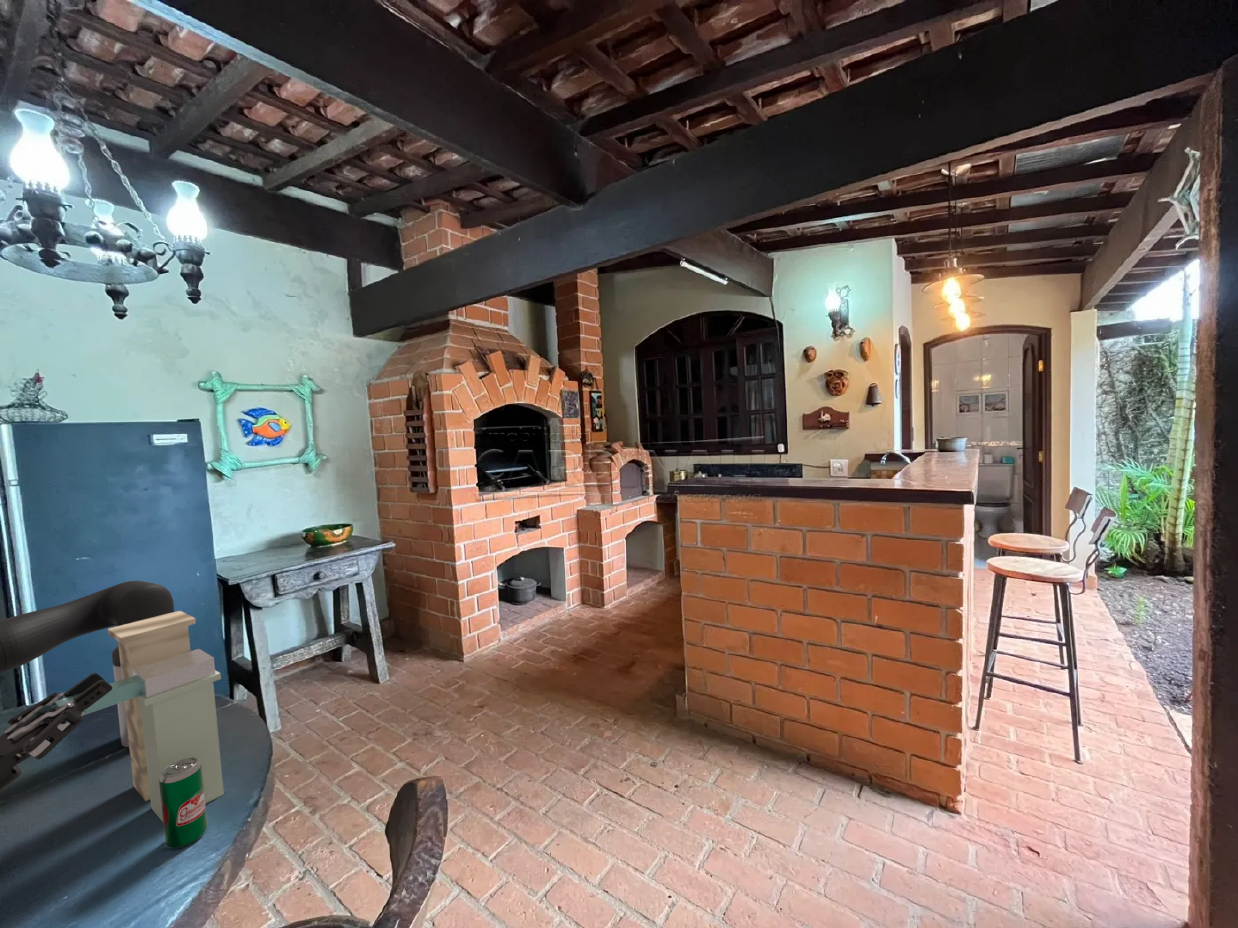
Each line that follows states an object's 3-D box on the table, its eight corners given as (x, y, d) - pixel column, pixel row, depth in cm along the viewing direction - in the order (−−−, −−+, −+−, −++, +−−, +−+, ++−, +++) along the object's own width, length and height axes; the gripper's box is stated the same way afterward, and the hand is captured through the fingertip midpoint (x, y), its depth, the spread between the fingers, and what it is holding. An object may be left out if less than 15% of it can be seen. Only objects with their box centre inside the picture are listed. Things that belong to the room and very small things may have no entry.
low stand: (142, 810, 85) (129, 686, 84) (214, 775, 94) (203, 662, 92) (158, 830, 81) (144, 700, 79) (231, 791, 89) (220, 673, 88)
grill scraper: (53, 713, 76) (51, 694, 76) (200, 664, 91) (198, 648, 91) (64, 727, 72) (61, 707, 72) (215, 674, 87) (213, 657, 87)
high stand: (125, 788, 91) (107, 628, 89) (194, 757, 99) (179, 610, 97) (139, 805, 87) (120, 638, 84) (210, 771, 95) (195, 618, 93)
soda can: (183, 853, 76) (175, 778, 76) (157, 848, 77) (149, 775, 77) (215, 827, 81) (209, 757, 80) (190, 822, 82) (183, 753, 81)
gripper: (-27, 785, 72) (110, 682, 84) (-13, 826, 65) (136, 706, 76) (-78, 757, 69) (73, 654, 80) (-69, 797, 61) (96, 676, 73)
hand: (103, 680), depth 78 cm, fingers open, 3 cm apart
